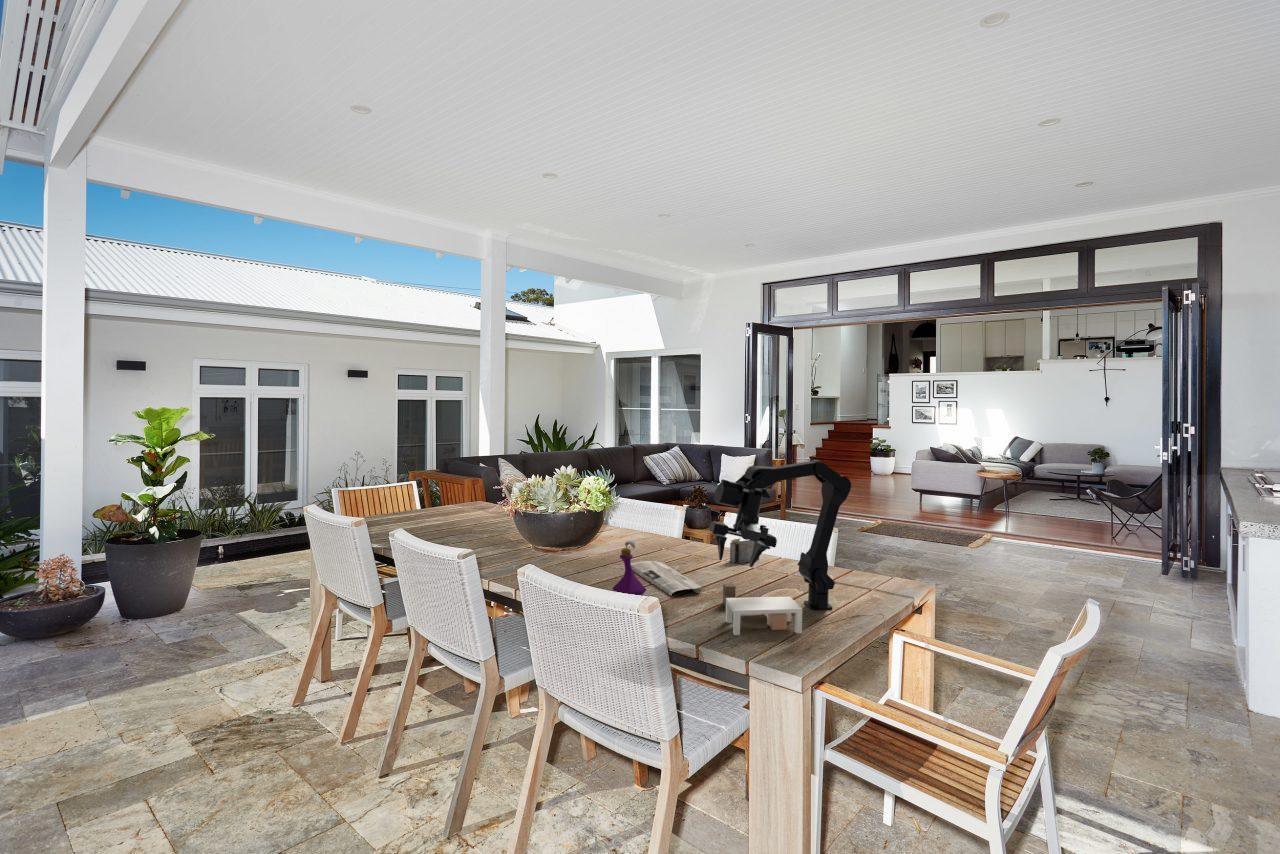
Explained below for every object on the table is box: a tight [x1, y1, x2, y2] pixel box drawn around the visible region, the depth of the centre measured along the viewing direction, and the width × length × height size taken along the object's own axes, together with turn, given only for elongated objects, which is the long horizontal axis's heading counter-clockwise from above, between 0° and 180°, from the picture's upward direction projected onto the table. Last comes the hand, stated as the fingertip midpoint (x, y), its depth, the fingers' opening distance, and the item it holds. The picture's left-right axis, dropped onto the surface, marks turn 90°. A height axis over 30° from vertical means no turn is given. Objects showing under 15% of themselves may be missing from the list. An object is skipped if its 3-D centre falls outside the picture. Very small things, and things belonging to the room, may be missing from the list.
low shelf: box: [725, 596, 803, 636], centre depth 173 cm, size 10×18×6 cm, turn 95°
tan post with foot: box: [722, 583, 768, 630], centre depth 182 cm, size 20×7×6 cm, turn 5°
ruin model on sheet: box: [729, 537, 760, 565], centre depth 239 cm, size 11×3×10 cm, turn 117°
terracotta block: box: [767, 613, 788, 631], centre depth 174 cm, size 4×4×4 cm
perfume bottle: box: [611, 540, 647, 596], centre depth 195 cm, size 8×8×18 cm
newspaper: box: [631, 560, 705, 597], centre depth 215 cm, size 35×12×4 cm, turn 24°
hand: (735, 563), depth 183 cm, fingers open, 9 cm apart
